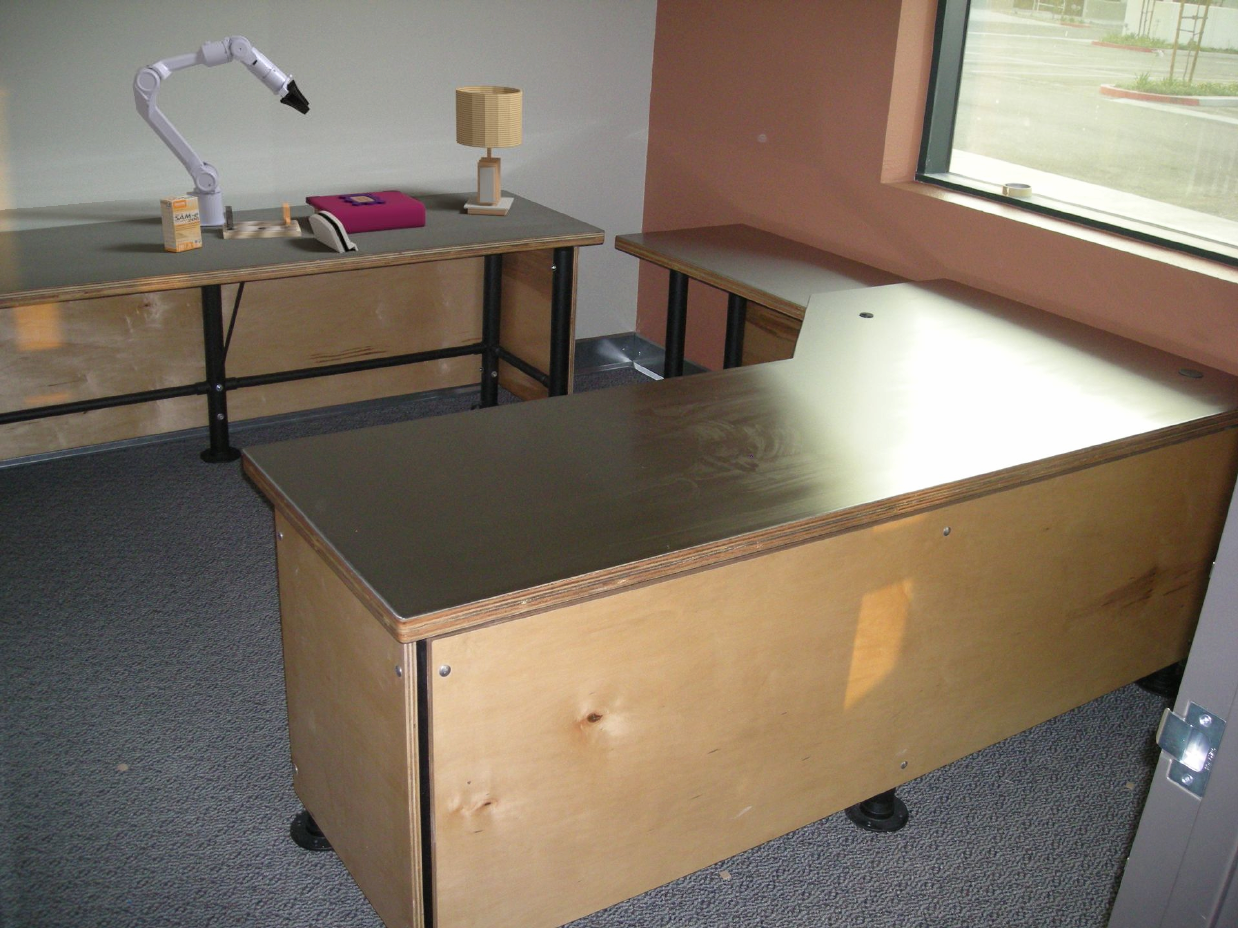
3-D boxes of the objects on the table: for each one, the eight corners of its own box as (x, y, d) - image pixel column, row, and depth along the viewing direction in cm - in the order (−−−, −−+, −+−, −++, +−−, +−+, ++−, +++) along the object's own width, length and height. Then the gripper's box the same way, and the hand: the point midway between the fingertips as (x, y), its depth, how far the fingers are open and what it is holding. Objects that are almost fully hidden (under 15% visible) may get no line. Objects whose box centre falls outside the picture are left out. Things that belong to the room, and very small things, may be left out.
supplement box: (177, 253, 298) (171, 201, 292) (164, 250, 300) (158, 198, 295) (203, 247, 304) (198, 196, 299) (191, 244, 306) (185, 194, 301)
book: (426, 228, 335) (425, 202, 332) (331, 237, 321) (330, 210, 318) (397, 213, 351) (396, 188, 348) (305, 221, 337) (303, 195, 334)
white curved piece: (358, 250, 308) (344, 216, 302) (343, 258, 306) (328, 224, 300) (333, 237, 320) (319, 203, 314) (318, 244, 318) (303, 211, 312)
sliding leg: (286, 227, 318) (284, 211, 316) (283, 219, 326) (282, 203, 324) (292, 227, 318) (290, 211, 316) (289, 219, 326) (288, 203, 325)
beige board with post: (224, 239, 313) (221, 214, 310) (222, 228, 323) (220, 205, 320) (301, 236, 319) (299, 212, 316) (297, 226, 329) (296, 203, 327)
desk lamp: (518, 218, 350) (519, 95, 336) (452, 215, 350) (450, 92, 336) (524, 204, 368) (525, 87, 354) (461, 202, 368) (460, 84, 354)
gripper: (277, 66, 310) (317, 103, 317) (277, 57, 323) (316, 93, 329) (259, 86, 311) (300, 122, 318) (260, 76, 324) (299, 112, 330)
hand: (307, 109), depth 324 cm, fingers open, 7 cm apart
